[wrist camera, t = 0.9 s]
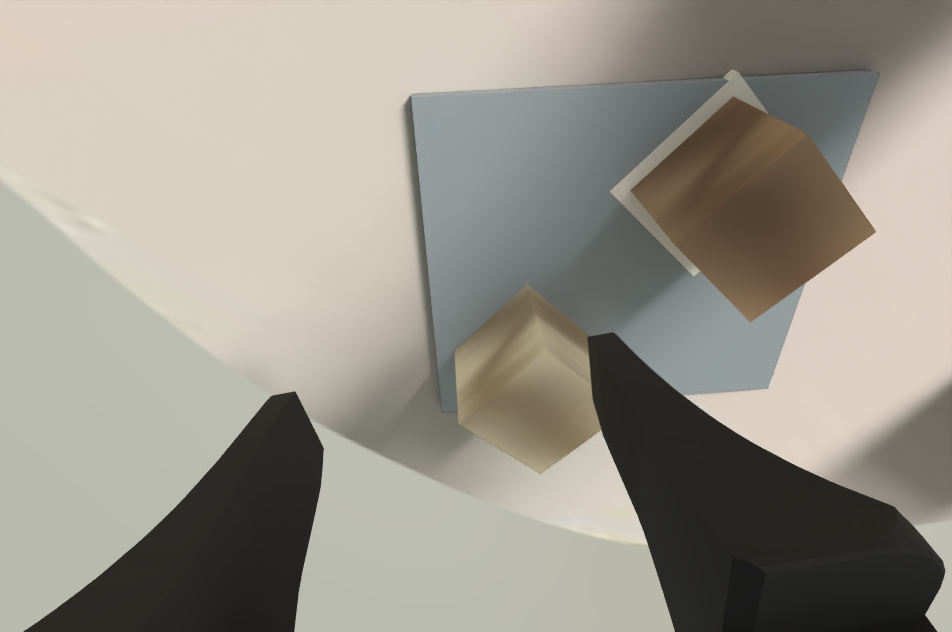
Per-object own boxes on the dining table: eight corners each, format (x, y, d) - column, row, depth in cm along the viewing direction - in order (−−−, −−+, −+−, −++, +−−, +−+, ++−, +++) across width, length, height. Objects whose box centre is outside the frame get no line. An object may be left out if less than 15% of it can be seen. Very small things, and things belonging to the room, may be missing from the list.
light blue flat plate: (872, 61, 19) (883, 64, 18) (762, 382, 27) (767, 388, 27) (410, 85, 18) (410, 89, 18) (441, 405, 27) (441, 412, 26)
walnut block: (733, 96, 19) (808, 133, 15) (795, 180, 21) (875, 231, 17) (630, 190, 20) (674, 244, 17) (697, 260, 22) (750, 322, 19)
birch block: (527, 284, 22) (546, 351, 19) (596, 340, 24) (626, 412, 21) (454, 350, 24) (458, 424, 20) (524, 398, 26) (540, 474, 22)
